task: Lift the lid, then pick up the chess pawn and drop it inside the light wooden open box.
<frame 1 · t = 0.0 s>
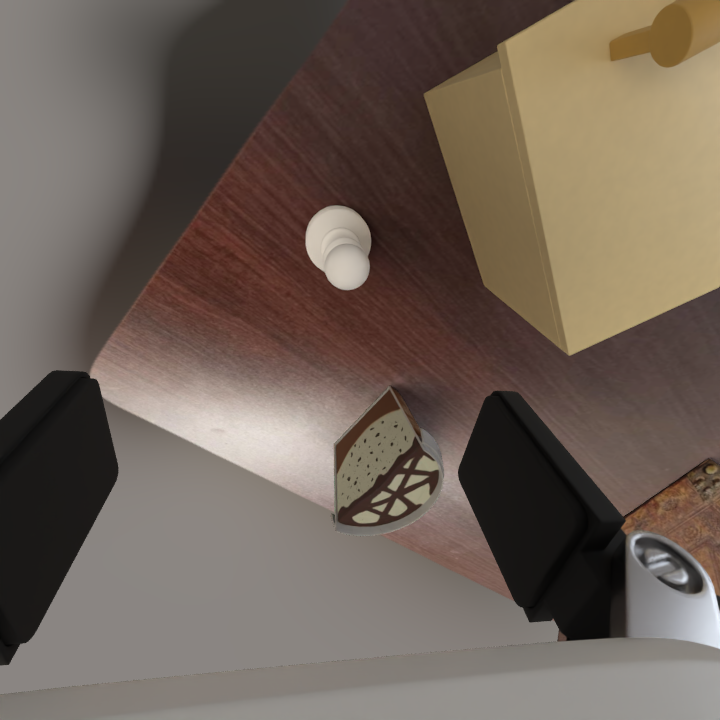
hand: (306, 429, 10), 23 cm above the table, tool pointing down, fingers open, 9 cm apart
lid: (699, 173, 17), point 14 cm above the table, hinge at 0.0°
food container: (382, 426, 41), on the table
light wooden open box: (532, 162, 29), on the table
chess pawn: (337, 237, 30), on the table
book: (644, 519, 58), on the table
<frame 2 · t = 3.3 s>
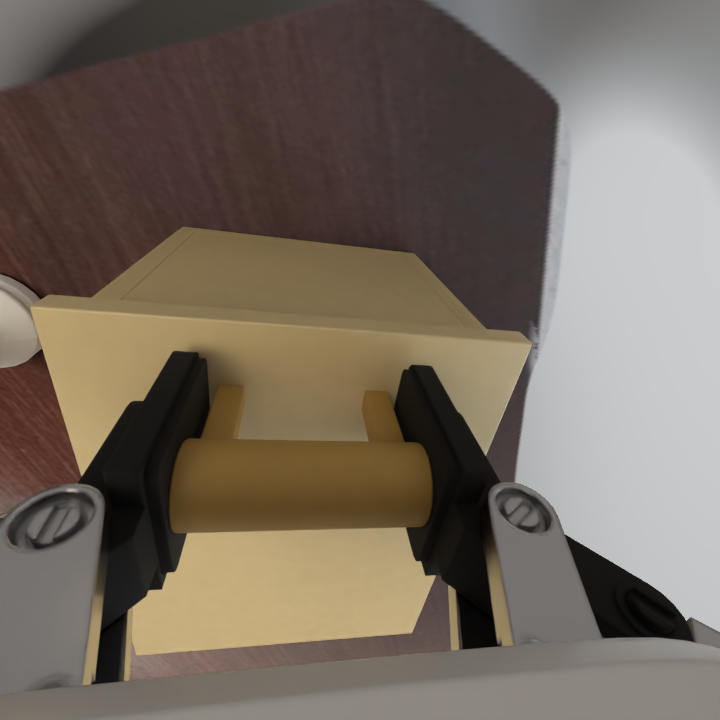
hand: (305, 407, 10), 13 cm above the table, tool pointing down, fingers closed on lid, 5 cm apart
lid: (292, 576, 12), point 14 cm above the table, hinge at 0.0°, touching gripper
light wooden open box: (296, 362, 25), on the table
chess pawn: (3, 312, 21), on the table
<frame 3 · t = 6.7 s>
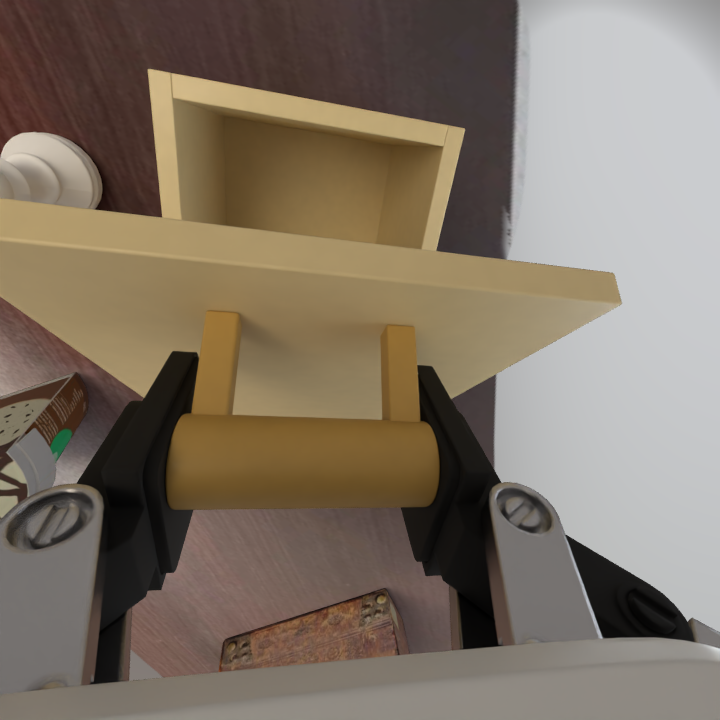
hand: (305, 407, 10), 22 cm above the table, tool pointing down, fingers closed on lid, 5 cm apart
lid: (299, 432, 14), point 19 cm above the table, hinge at 41.3°, touching gripper
food container: (51, 414, 34), on the table
light wooden open box: (303, 237, 29), on the table
chess pawn: (63, 176, 25), on the table
book: (315, 626, 57), on the table
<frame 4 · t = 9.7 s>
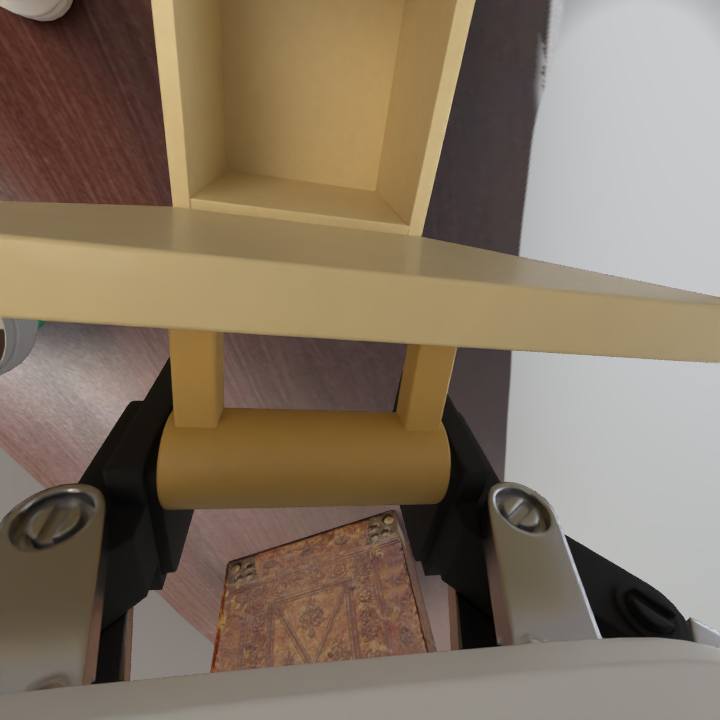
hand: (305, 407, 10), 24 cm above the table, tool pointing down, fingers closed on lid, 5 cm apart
lid: (306, 307, 12), point 21 cm above the table, hinge at 78.6°, touching gripper
food container: (34, 289, 31), on the table
light wooden open box: (310, 65, 25), on the table
book: (321, 550, 56), on the table
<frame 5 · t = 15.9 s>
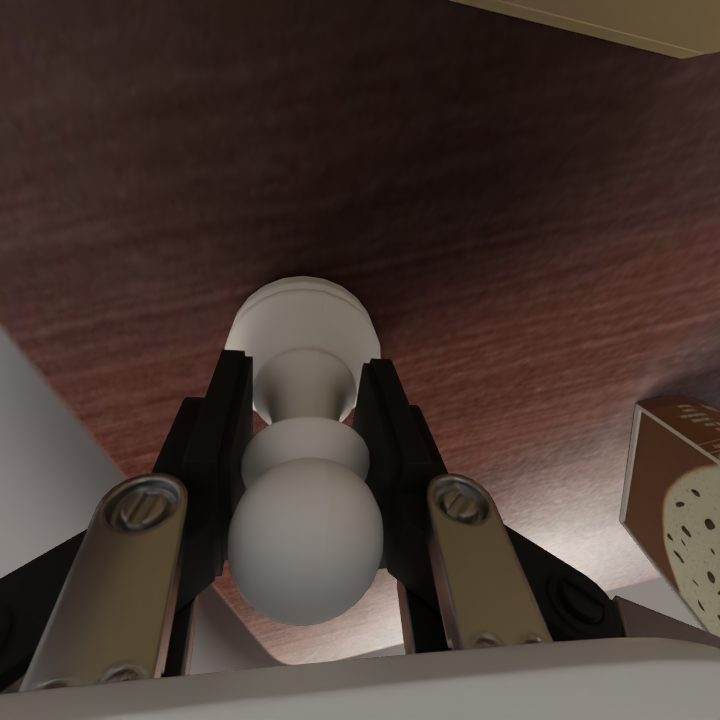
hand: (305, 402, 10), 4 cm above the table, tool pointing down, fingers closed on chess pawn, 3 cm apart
food container: (680, 449, 20), on the table
chess pawn: (304, 339, 14), on the table, touching gripper
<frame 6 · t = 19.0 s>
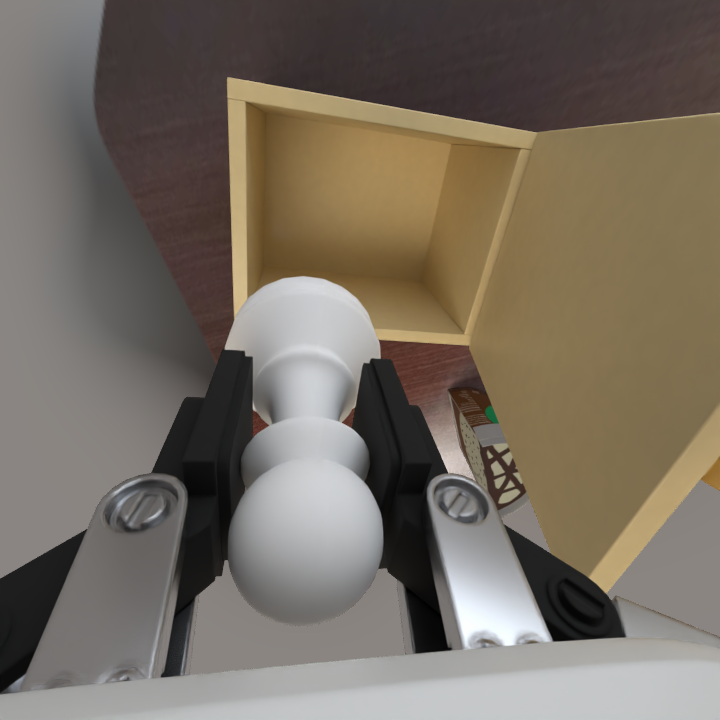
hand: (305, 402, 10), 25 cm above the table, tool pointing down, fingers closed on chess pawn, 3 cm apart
lid: (607, 314, 15), point 21 cm above the table, hinge at 78.7°
food container: (478, 411, 45), on the table
light wooden open box: (352, 206, 31), on the table
chess pawn: (304, 339, 14), point 21 cm above the table, touching gripper
when the fingers open (13 cm above the table, at t = 22.2 s): chess pawn drops 6 cm, resting on light wooden open box.
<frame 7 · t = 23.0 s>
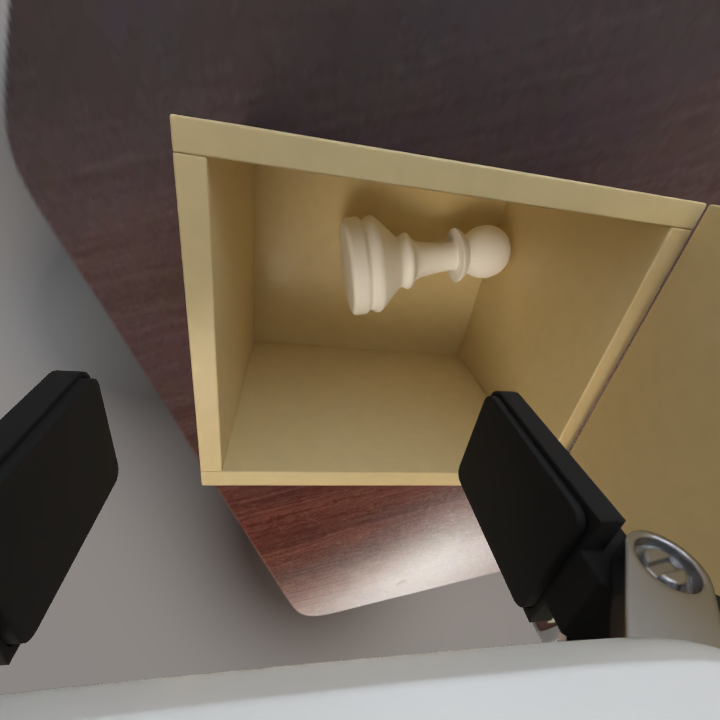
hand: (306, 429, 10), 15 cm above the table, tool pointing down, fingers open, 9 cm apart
food container: (515, 493, 37), on the table
light wooden open box: (372, 264, 23), on the table
chess pawn: (342, 268, 20), point 3 cm above the table, touching light wooden open box
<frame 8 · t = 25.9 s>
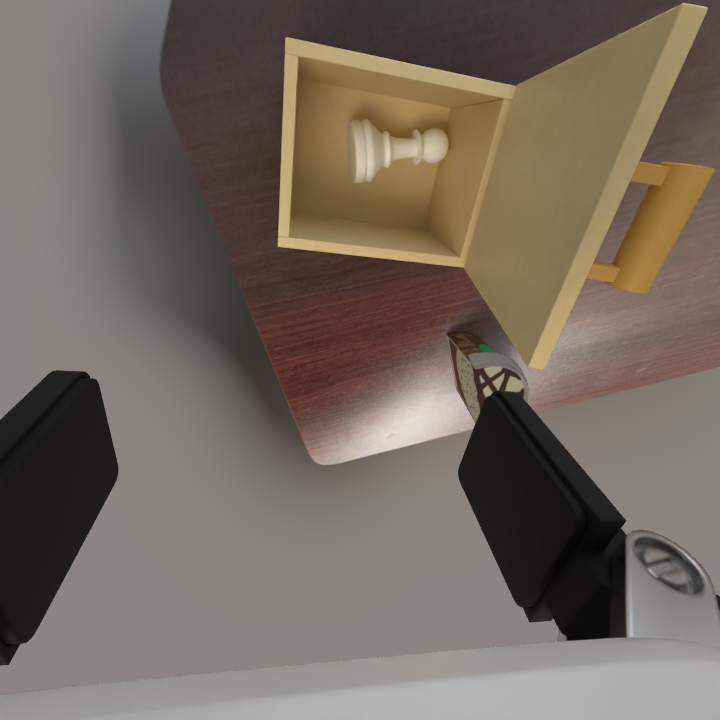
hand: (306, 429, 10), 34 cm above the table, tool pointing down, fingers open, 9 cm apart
lid: (562, 206, 21), point 21 cm above the table, hinge at 78.7°
food container: (472, 355, 51), on the table
light wooden open box: (366, 161, 37), on the table
chess pawn: (349, 153, 34), point 3 cm above the table, touching light wooden open box
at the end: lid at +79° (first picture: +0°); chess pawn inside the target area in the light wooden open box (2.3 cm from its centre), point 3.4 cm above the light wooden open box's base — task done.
